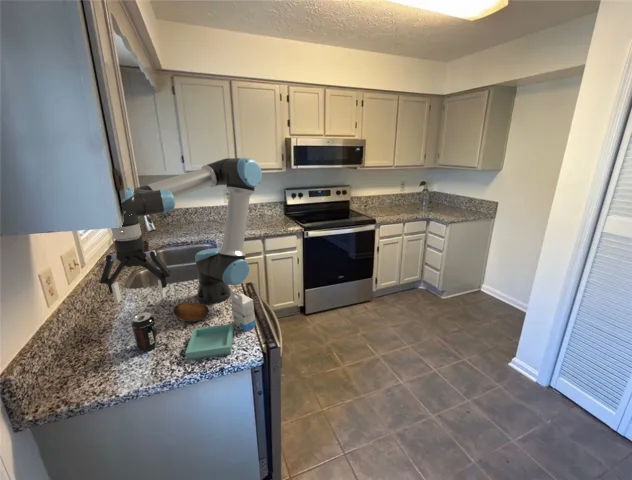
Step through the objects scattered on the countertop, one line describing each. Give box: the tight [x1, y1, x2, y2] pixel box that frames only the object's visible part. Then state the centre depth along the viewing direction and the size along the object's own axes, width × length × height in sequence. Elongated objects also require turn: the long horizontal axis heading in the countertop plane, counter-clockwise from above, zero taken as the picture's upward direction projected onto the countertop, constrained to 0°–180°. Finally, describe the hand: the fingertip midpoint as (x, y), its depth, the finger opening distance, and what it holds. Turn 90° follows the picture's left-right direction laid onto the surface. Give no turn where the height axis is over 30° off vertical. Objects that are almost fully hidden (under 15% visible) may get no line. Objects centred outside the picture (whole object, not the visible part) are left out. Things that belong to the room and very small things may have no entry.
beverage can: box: [131, 312, 160, 352], centre depth 101 cm, size 7×7×12 cm
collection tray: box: [184, 323, 235, 362], centre depth 103 cm, size 14×14×3 cm
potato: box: [172, 302, 210, 323], centre depth 118 cm, size 8×13×8 cm
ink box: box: [230, 290, 256, 332], centre depth 112 cm, size 8×5×15 cm, turn 47°
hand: (141, 299), depth 97 cm, fingers open, 13 cm apart
